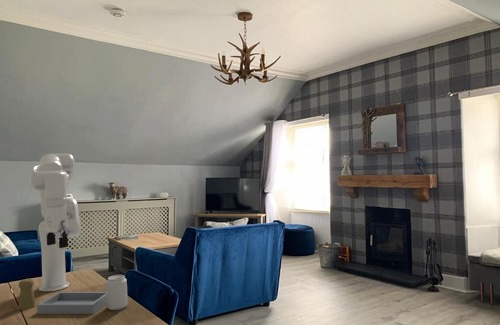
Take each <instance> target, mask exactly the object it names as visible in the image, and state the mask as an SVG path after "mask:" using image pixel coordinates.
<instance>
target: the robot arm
mask: <svg viewBox="0 0 500 325" xmlns="http://www.w3.org/2000/svg"><path fill="white" fill-rule="evenodd" d="M75 164H76V163H75V158H74V156H73V155H72V154H70V153H63V152H62V153H47V154H44V155H42V156H41V158H40V159H39V164H37V165H35V166H33V167H32V168H31V170H30V172H29V184H30V187H31V189H32V190H35V191H38V193H39V196H40V212H41V216H42V218H44V220H43V221H41V222H40V223H39V225H38V234H39V240H40V245H41V246H40V248H41V249H40V250H41V274H42V275H41V276H42V277H41V278H42V284H41V285H40V286H39V287H38V291H39V292H43V293H44V292H46V293H47V292H55V291H57V292H58V291H60V290H64V289H66V288H68V287H69V286H70V282H69V281H68V280H67V278H66V277H67V276H66V275H67V274H66V253H65V252H66V250H65V248H68V246H69V241H68V240H69V239H70V238H72V239H73V238H77V237H78V236H80V234H81V231H82V229H81V228H82V227H81V218H80V211H79V210H80V209H79V205H78V201H77V200H76V199H75V198H72V197H70V198H69V197H68V198H67V187H68V186H69V184H70V181H71V180H72V179H73V177H74V172H75V168H76V166H75Z"/></svg>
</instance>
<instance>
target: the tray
mask: <svg viewBox="0 0 500 325" xmlns="http://www.w3.org/2000/svg"><path fill="white" fill-rule="evenodd" d="M106 305H107V291H59V292H57V293H55V294H54V295H52V296H50V297H48V298H47V299H45V300H43V301H41V302H40V303H37V304H36V306H37V314H38V315H63V314H64V315H94V314H95V313H96V312H98V311H99V310H100V309H101V308H103V307H104V306H106Z"/></svg>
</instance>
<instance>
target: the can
mask: <svg viewBox="0 0 500 325" xmlns="http://www.w3.org/2000/svg"><path fill="white" fill-rule="evenodd" d="M105 283H106V292H107V303H106V307H107V309H109V310H110V311H121V310H123V309H125V308H126V306H128V284H127V283H128V282H127V278H126V277H125V275H123V274H115V275H111V276H108V278H107V281H106V282H105Z"/></svg>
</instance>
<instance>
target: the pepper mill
mask: <svg viewBox="0 0 500 325" xmlns="http://www.w3.org/2000/svg"><path fill="white" fill-rule="evenodd" d="M34 284H35V282H34V279H32V278H25V279H24V278H23V279H21V280H20V281H19V282H18V288H19V289H20V291H19V300H18V307H17V308H18V310H19V311H24V310H25V311H26V310H30V309H33V308H35V307H36V306H37V304H36V299H35V294H34V288H33V287H34Z"/></svg>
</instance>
